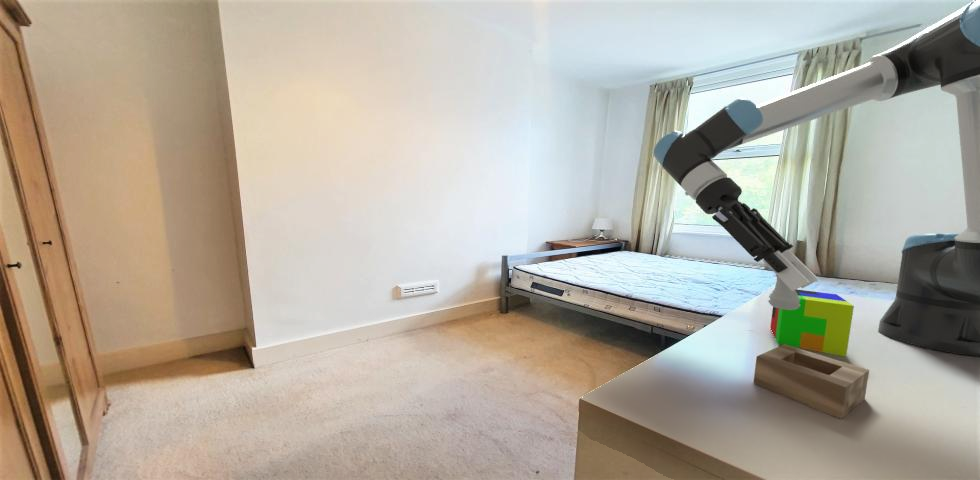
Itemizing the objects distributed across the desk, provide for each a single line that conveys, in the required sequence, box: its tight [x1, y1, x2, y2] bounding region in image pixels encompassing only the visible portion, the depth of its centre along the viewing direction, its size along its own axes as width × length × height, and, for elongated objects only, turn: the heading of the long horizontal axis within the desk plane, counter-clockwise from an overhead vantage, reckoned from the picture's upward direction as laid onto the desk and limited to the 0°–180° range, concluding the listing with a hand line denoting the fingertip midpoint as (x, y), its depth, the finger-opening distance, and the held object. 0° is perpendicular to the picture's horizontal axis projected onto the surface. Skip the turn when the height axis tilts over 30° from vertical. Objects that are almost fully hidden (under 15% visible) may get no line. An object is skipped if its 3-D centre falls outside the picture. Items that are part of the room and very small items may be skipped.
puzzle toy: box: [769, 289, 855, 357], centre depth 71 cm, size 10×10×10 cm
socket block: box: [753, 344, 870, 420], centre depth 51 cm, size 10×10×4 cm
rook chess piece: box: [767, 262, 800, 310], centre depth 60 cm, size 4×4×8 cm
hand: (805, 285), depth 58 cm, fingers closed on rook chess piece, 3 cm apart
